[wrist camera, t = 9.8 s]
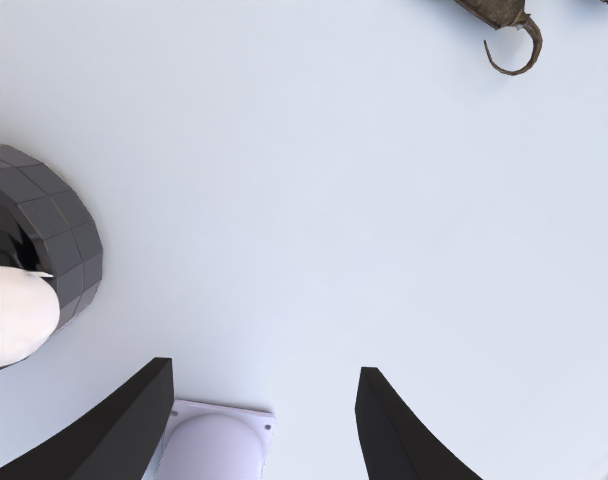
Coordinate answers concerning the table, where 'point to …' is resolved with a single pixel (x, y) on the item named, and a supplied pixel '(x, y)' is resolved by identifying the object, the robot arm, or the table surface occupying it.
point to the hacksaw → (506, 23)
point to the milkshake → (23, 303)
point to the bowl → (51, 231)
